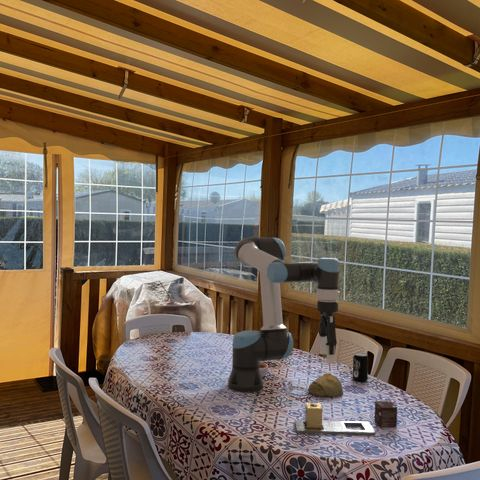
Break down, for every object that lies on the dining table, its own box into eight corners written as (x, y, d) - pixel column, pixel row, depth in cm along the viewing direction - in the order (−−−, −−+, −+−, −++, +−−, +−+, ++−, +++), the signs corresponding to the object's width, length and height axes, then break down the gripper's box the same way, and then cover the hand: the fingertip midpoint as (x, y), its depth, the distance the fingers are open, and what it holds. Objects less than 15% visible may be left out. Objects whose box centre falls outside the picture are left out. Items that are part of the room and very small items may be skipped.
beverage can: (367, 383, 223) (368, 356, 223) (352, 381, 225) (353, 355, 224) (367, 378, 230) (367, 352, 229) (352, 377, 231) (353, 351, 231)
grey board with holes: (297, 433, 167) (297, 430, 167) (294, 422, 176) (294, 419, 176) (375, 435, 167) (375, 432, 167) (368, 424, 176) (368, 421, 176)
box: (373, 421, 179) (374, 401, 179) (390, 421, 179) (390, 400, 179) (380, 428, 173) (380, 407, 173) (397, 428, 173) (397, 407, 173)
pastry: (344, 391, 212) (345, 372, 212) (341, 400, 200) (341, 380, 200) (311, 387, 217) (312, 368, 216) (306, 396, 205) (306, 376, 205)
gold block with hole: (306, 431, 169) (307, 407, 169) (305, 425, 174) (305, 402, 174) (321, 431, 169) (322, 408, 169) (319, 425, 174) (320, 402, 174)
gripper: (346, 305, 170) (345, 367, 170) (330, 296, 195) (329, 350, 195) (324, 305, 170) (323, 367, 170) (311, 296, 195) (310, 350, 195)
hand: (326, 358), depth 183 cm, fingers open, 13 cm apart
